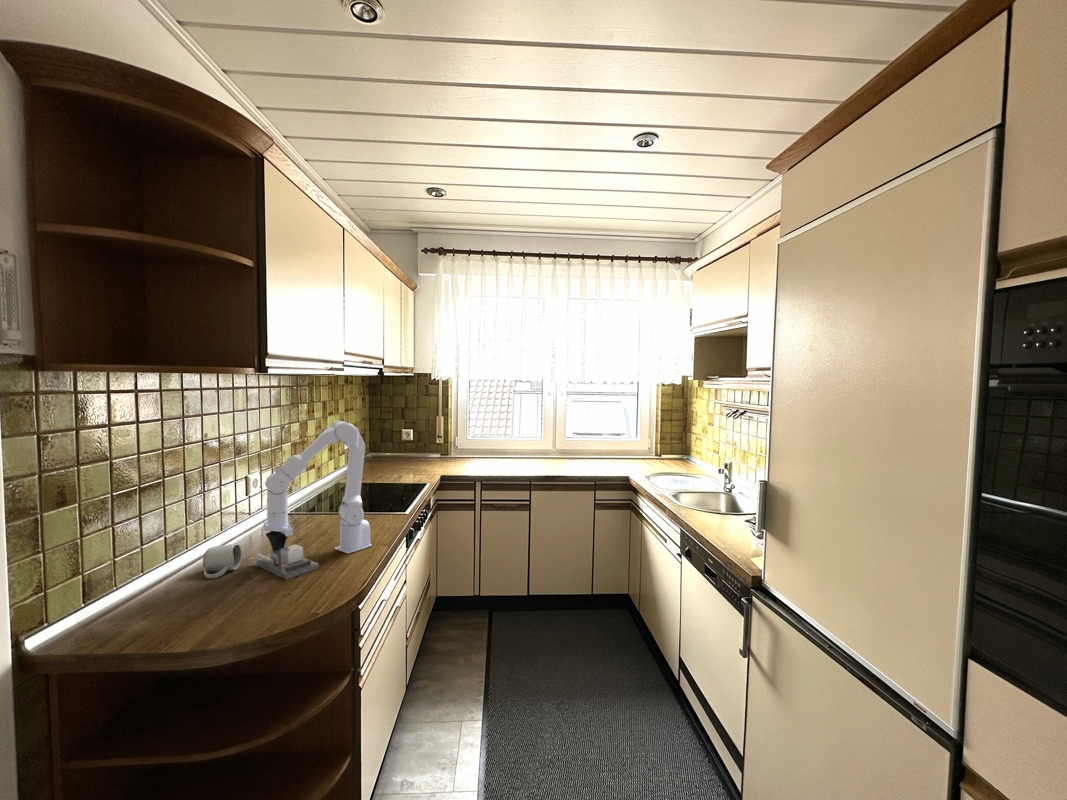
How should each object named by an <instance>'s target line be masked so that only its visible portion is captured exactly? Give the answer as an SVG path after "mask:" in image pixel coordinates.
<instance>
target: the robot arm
mask: <svg viewBox="0 0 1067 800" xmlns="http://www.w3.org/2000/svg"><path fill="white" fill-rule="evenodd" d="M339 441H340V442H341V443H343V444H344V445H345V446H346V447H347V448H348V459H347V470H346V481H345V489H344V495H343V496H342V500H341V504H340V505H339V507H338V515H339V516H340V518H341V520H340V522H339V542H340V543H339V546H336V547H334V550H336V551H338V552H342V553H345V554H347V555H349V554H352V553H354V552H357V551H361V550H364V549H367V548H370V547H372V544H371V525H370V522H369V521H368V520H366V519H364V516H365V512H364V509H363V501H362V496H361V493H362V484H363V483H362V482H363V475H364V474H363V472H364V465H365V464H364V461H365V451H366V443H365V441H364V440H363V437H362V436H361V433H360V431H359V428H357V427H356V426H355V425H354V424H352V423H351V422H346V421H344V420H336V421H335V422H333V423H332V424H331V425H330V426H328V427H327V428H325V429H324V431H322V433H320V434H319V435H318V436H317V437H316V439H314V440H313V441H312V442H311V443H310V444H309V445H308V446H307V447H306V448H305V449H304V450H303V451H302V452H301V453H300V454H294V455H292V456H288V457H287V458H285V459H286V462H285V463H283V465H281V466H280V467H279V468H276V469H274V473H271V474H269V476H267V478H266V480H265V482H264V485H265V488H266V489H267V491H266V496H267V497H266V519H267V520H266V521H263V522H262V523H263V524H262V525H263V531H265V532H266V533H265V537H267V539H268V542H269V543H270V545H271V551H275V550H278V549H281V548H284V547H286V546H285V544H286V543H287V539H288V538H289V537H290V536H294V535H293V534H294V528H292V527H291V525H290V524H289V515H288V514H289V513H288V512H289V510H288V509H289V508H288V494H287V490H288V489H289V486H290V483H292V482H293V481H294V480H296V478H297V477H299V476H300V475H301V474H302V473H303V472H304V471H305V470H306V469H307V468H308V466H309V465H308V463H309V461H310V460H312V458H314V457H315V456H316V455H317V454H319V453H320V452H321V451H322V450H323V449H324V448H325V447H326V446H328V445H331V444H337V443H339Z"/></svg>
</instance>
